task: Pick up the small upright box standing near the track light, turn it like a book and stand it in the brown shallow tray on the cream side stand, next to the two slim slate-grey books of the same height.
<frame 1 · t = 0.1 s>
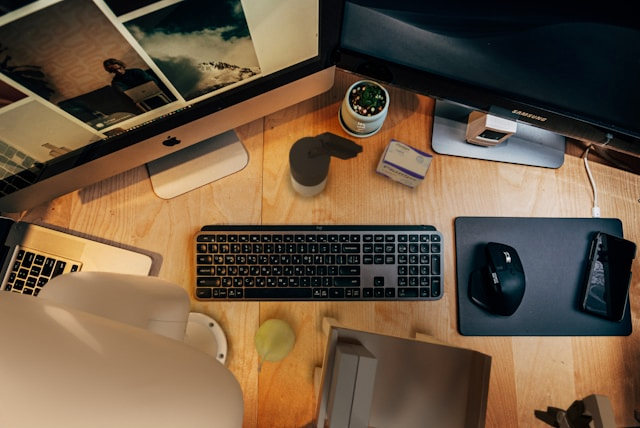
box: (397, 171, 83), on the table
grey book 2: (352, 376, 54), point 23 cm above the table, touching brown shallow tray
fruit: (275, 339, 77), on the table
brown shallow tray: (397, 382, 55), resting on stand
track light: (320, 178, 82), on the table
stand: (371, 356, 77), on the table
grey book 1: (337, 373, 54), point 23 cm above the table, touching brown shallow tray
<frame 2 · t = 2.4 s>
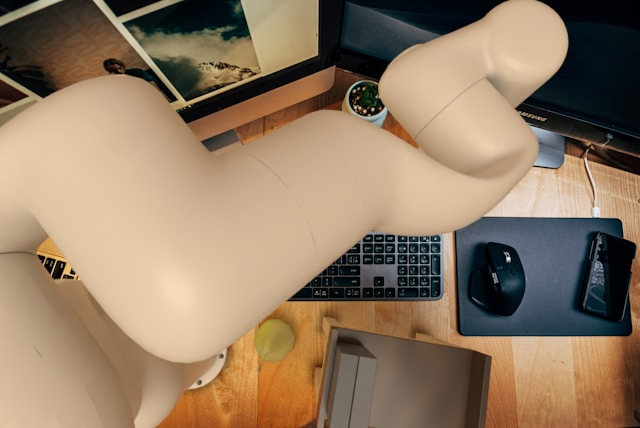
hand: (429, 148, 64), 19 cm above the table, tool pointing down, fingers open, 9 cm apart
nothing on the table moved.
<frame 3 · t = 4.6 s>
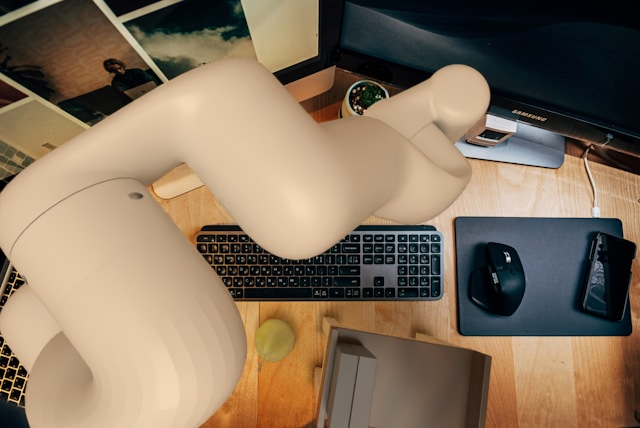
hand: (402, 165, 79), 4 cm above the table, tool pointing down, fingers closed on box, 5 cm apart
box: (397, 171, 83), on the table, touching gripper
everything else where it was.
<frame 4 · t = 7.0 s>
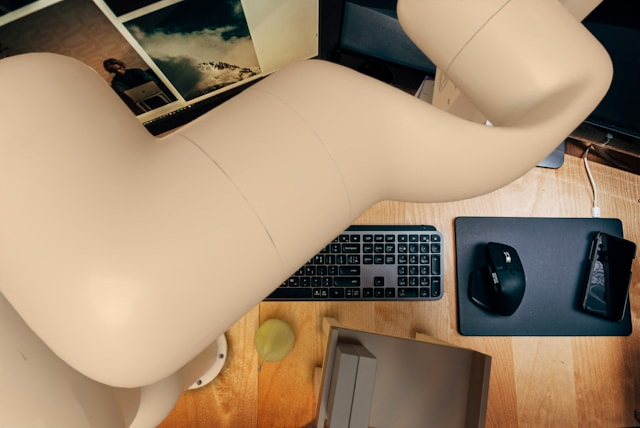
hand: (438, 118, 56), 26 cm above the table, tool pointing down, fingers closed on box, 5 cm apart
box: (429, 130, 60), point 22 cm above the table, touching gripper
everything else where it was.
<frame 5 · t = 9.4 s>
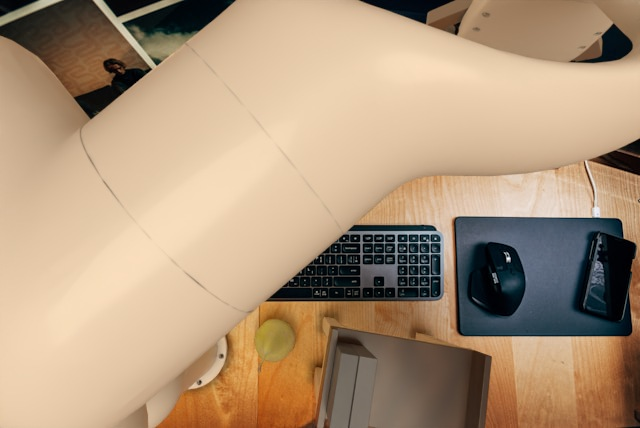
hand: (479, 76, 44), 39 cm above the table, tool pointing down, fingers closed on box, 5 cm apart
box: (464, 94, 48), point 35 cm above the table, touching gripper
everything else where it was.
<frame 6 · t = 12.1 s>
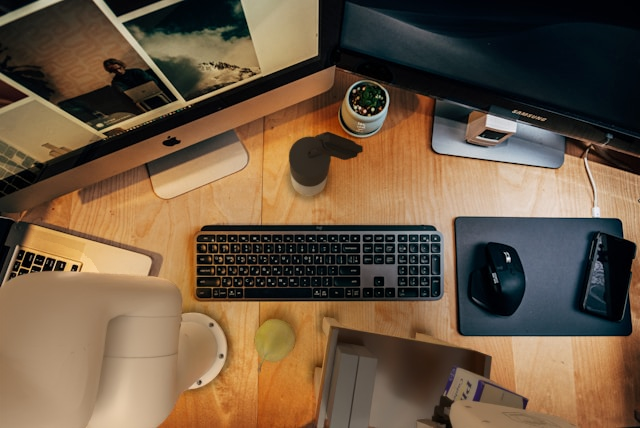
hand: (472, 417, 43), 35 cm above the table, tool pointing down, fingers closed on box, 5 cm apart
box: (458, 406, 46), point 31 cm above the table, touching gripper
everything else where it was.
when the fingers open (27 cm above the table, at t = 14.1 s): box stays where it is, resting on brown shallow tray.
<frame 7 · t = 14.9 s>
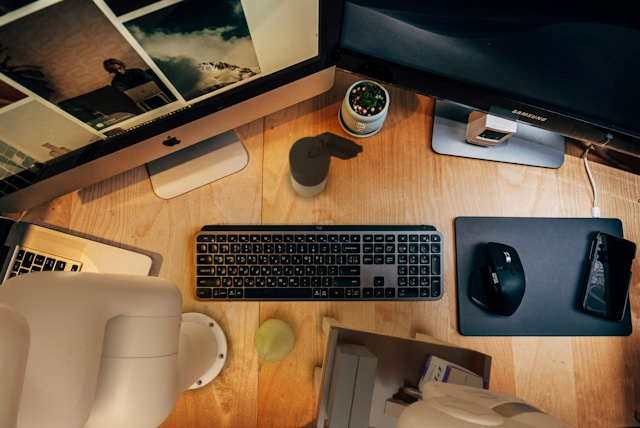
hand: (447, 400, 49), 28 cm above the table, tool pointing down, fingers open, 9 cm apart
box: (433, 389, 54), point 23 cm above the table, touching brown shallow tray
everything else where it was.
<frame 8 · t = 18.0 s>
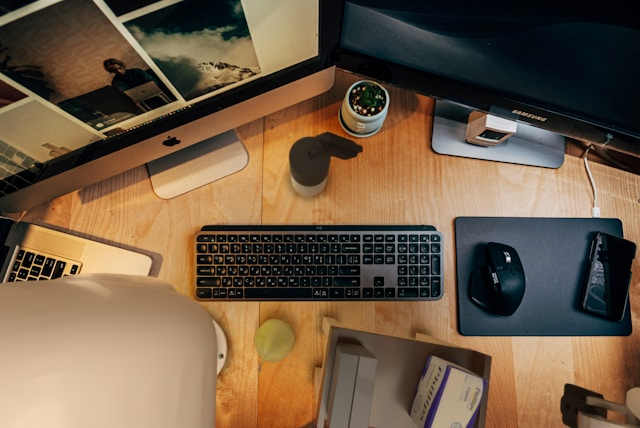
hand: (625, 413, 36), 42 cm above the table, tool pointing down, fingers open, 9 cm apart
nothing on the table moved.
at the end: box 0.1 cm from the target spot on the brown shallow tray, point 0.6 cm above the brown shallow tray's base; box tilted 0°; grey book 2 tilted 0° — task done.
